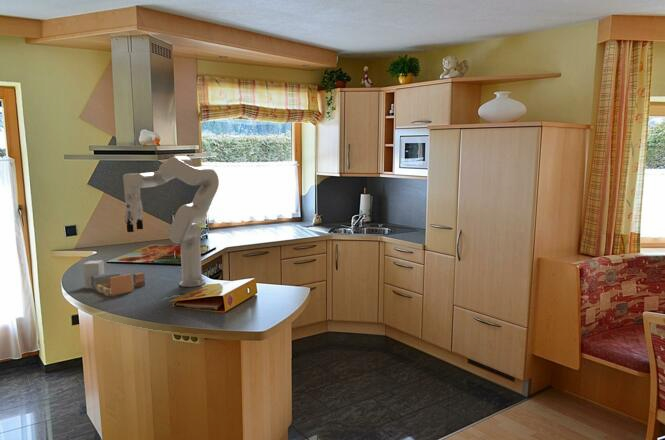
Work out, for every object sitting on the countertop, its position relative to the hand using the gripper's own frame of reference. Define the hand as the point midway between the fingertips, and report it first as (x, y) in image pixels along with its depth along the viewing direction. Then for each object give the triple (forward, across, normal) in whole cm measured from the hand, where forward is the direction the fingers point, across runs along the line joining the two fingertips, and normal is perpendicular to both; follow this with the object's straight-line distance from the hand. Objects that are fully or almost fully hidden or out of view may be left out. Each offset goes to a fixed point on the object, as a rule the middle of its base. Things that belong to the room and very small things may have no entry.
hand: (135, 230), depth 259 cm
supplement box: (+26, -14, +16) cm, 34 cm away
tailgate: (+25, -30, -7) cm, 40 cm away
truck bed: (+26, -23, +1) cm, 35 cm away
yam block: (+26, -15, -8) cm, 31 cm away
